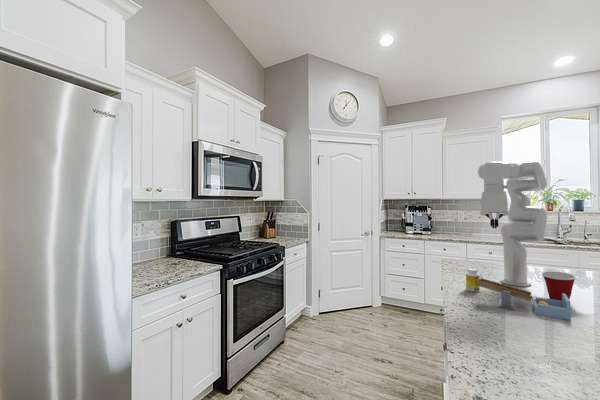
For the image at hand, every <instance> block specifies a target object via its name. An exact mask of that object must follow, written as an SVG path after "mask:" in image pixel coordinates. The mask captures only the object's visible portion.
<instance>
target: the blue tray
mask: <svg viewBox="0 0 600 400" xmlns="http://www.w3.org/2000/svg"><path fill="white" fill-rule="evenodd" d="M534 298H535V299H534ZM534 298H532V305H531V306H533V307H532V310H534V311H533V314H534V315H535V314H536V316H542V317H548V318H553V319H559V320H564V321H568V322H571V320H572V319H571V299H570V300H569V299H568V297H567V295H566V294H563V293H562V301H559V300H552V299H550V298H543V297H538V296H535V297H534ZM541 301H543V302H546V303H547V304H548V305H543V304H538V303H539V302H541Z"/></svg>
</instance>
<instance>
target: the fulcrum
mask: <svg viewBox="0 0 600 400" xmlns="http://www.w3.org/2000/svg"><path fill="white" fill-rule="evenodd" d="M506 285H507V286H509V284H506ZM500 295H501V298H498V309H501V310H507V311H512V310H513V311H515V303H514V300H512V296H511V291H505V290H501V293H500Z"/></svg>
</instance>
